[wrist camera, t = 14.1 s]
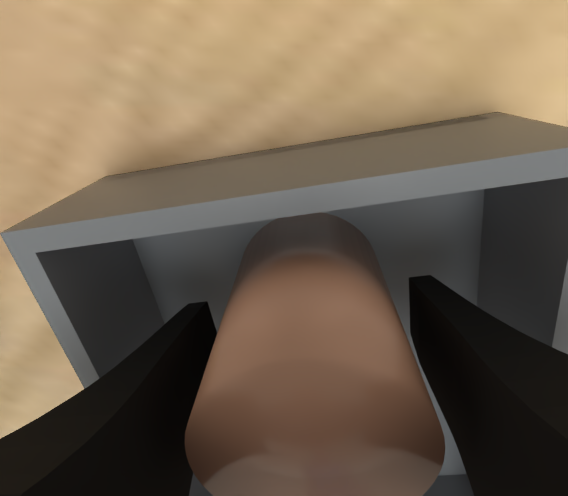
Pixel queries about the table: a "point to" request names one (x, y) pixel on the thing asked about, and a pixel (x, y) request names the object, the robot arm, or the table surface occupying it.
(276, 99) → the table surface
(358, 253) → the terracotta cylinder
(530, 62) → the table surface
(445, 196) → the tote
